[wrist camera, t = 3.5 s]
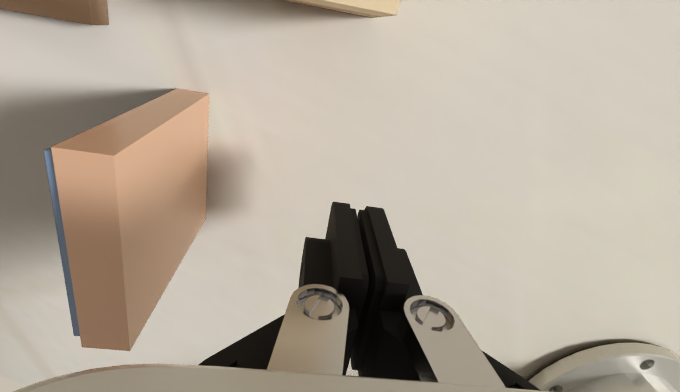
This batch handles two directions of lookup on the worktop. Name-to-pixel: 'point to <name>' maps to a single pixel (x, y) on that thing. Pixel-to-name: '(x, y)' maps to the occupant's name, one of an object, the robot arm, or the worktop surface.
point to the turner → (357, 6)
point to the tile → (128, 212)
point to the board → (62, 9)
